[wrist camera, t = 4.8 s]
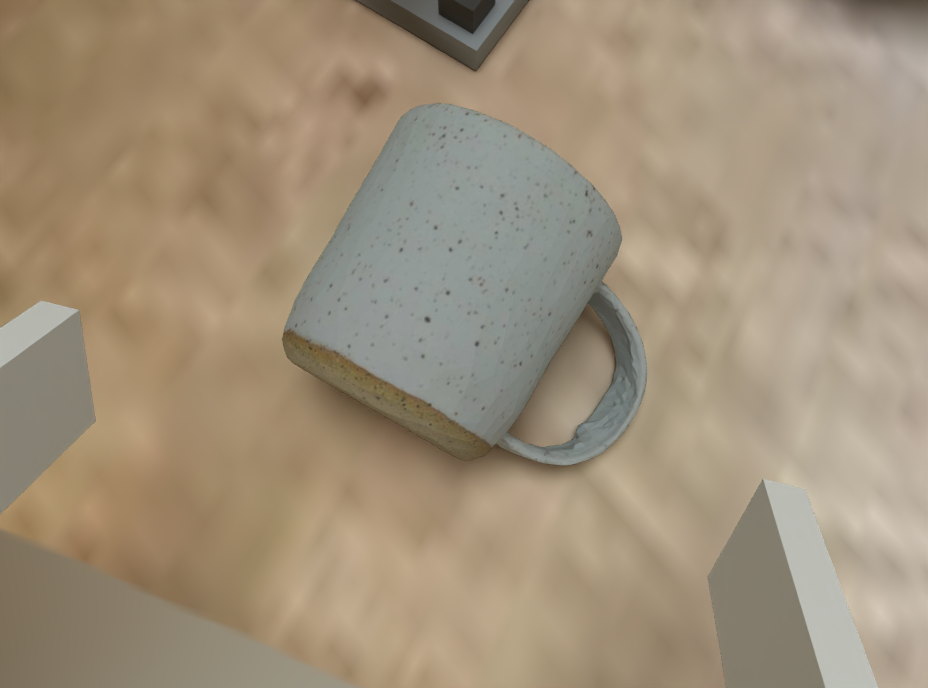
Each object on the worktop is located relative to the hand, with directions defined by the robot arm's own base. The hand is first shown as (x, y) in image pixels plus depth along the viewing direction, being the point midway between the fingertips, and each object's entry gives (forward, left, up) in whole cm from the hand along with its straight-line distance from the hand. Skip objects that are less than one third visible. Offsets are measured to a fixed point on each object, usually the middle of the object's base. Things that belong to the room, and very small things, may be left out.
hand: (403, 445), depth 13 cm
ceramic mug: (-1, +5, -10) cm, 11 cm away
